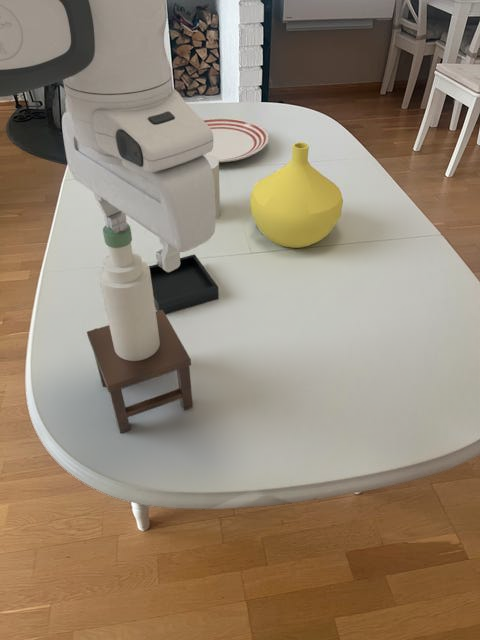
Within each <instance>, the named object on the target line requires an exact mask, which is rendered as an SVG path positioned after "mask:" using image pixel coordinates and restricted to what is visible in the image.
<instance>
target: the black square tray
mask: <svg viewBox="0 0 480 640" xmlns="http://www.w3.org/2000/svg"><path fill="white" fill-rule="evenodd" d="M148 266H149V268H150V274H151V281H152V289H153V296H154V303H155V311H159V310H163V311H164V313H165V315H169V314H171V313H175V312H178V311H182V310H185V309H188V308H192V307H195V306H199V305H202V304H205V303H208V302H211V301H214V300H219V286H218V284H217V283H216V281H215V280H214V279H213V277H212V276H211V274H210V273H209V271H207V269H206V268H205V266H204V265H203V264H202V262H201V261H200V259H199V258H198V257H197V256H196V254H191V255H186V256H183V257H180V266H179V267H178V268H177V269H175V270H173V271H171V272H166V271H165V270H164V269H162V268H161V267H160V266H158V264H157V263H156V264H152V265H148Z"/></svg>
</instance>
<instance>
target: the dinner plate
mask: <svg viewBox="0 0 480 640" xmlns="http://www.w3.org/2000/svg"><path fill="white" fill-rule="evenodd" d="M201 119H202V118H201ZM202 120H203V121H204V122H205V123H206V124H207V125H208V126H209V127H210V128H211V130H212V133H213V149H212V151H211V152H209V153H207V154H208V155H212V156H214V157H216V158H217V159H218V160H219V164H220V163H229V162H235V161H240V160H243V159H247V158H249V157H252V156H254V155H256V154H257V153H259V152H261V151H262V150H263V149H264V148H265V147H266V146H267V145H268V143H269V140H270V139H269V137H270V136H269V134H268V132H267V130H266V129H265V128H264V127H262V126H260V125H259V124H257V123H254V122H251V121H249V120H244V119H239V118H231V117H212V118H211V117H209V118H203V119H202Z"/></svg>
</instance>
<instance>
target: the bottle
mask: <svg viewBox="0 0 480 640" xmlns="http://www.w3.org/2000/svg"><path fill="white" fill-rule="evenodd" d="M102 234H103V238H104V243H105V245H106V246H107V250H108V255H107V256H106V257H105V258H104V259H103V262H102V267H101V268H100V269H99V271H98V274H97V275H98V282H99V284H100V291H101V294H102V299H103V304H104V309H105V313H106V317H107V321H108V325H109V327H110V331H111V336H112V340H113V345H114V349H115V352H116V354H117V355H118V356H119V357H121V358H123V359H125V360H129V361H139V360H143V359H146V358H148V357H150V356H152V355H153V354H154V353H155V352H156V351H157V350H158V348H159V345H160V340H159V333H158V325H157V318H156V311H157V310H156V308H155V303H154V296H153V289H152V281H151V274H150V268H149V266H150V265H148V264H147V263H146V262H145V261H144V260H143V259H142V257H141V255H140V254H138V253H137V252H135V251H133V247H132V241H133V236H132V229H131V225H130V224H129V223H127V228H126V229H125V230H123V231H120V232H119V233H114V232H113V231H112V230H110V229H109V228H107V227H106V225H104V227H103V228H102Z"/></svg>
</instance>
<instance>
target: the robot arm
mask: <svg viewBox="0 0 480 640" xmlns="http://www.w3.org/2000/svg"><path fill="white" fill-rule="evenodd" d="M167 11H168V10H167V0H0V98H3V97H4V98H5V97H12V96H17V95H19V94H23V93H24V94H25V93H27V92H30V91H34V90H37V89H40V88H44V87H47V86H49V85H53V84H55V83H59V82H61V81H62V82H63V88H64V93H65V100H64V102H65V107H66V111H65V112H64V113H63V115H62V117H61V129H62V137H63V144H64V151H65V156H66V162H67V166H68V169H69V172H70V174H71V175H72V177H73V179H74V180H75V181H77V182H79V183H80V184H81V185H83V186H84V187H85V188H87V189H89V190H90V191H91V192H92V193H93V197H94V199H95V201H96V203H97V205H98V207H99V209H100V211H101V213H102V215H103V217H104V222H105V226H106V227H107V228H109V229H110V230H112V231H113V232H114V233H119V232H120V231H123V230H125V229H126V228H127V224H128V223H127V217H129V218H130V219H132V220H133V221H134V222H136V223H137V224H139V225H140V226H142V228H145V229H146V230H147V231H149V232H150V233H152V234H153V235H155V236H156V237H157V238H158V240H159V243H160V245H163V246H162V249H159V250H158V251H156V252H155V257H156V260H157V261H156V264H158V266H160V267H161V268H162V269H164V270H165V271H166V272H171V271H173V270H175V269H177V268H178V267H179V266H180V258H181V254H180V253H186V252H188V251H190V250H193V249H195V248H197V247H199V246H202V245H203V244H206V243H207V242H208V241H209V240H210V239H211V238H212V237H213V236H214V234H215V232H216V227H217V226H216V223H217V219H216V203H215V186H214V177H213V172H212V169H211V166H210V164H209V162H208V160H207V159H206V157H205V156H204V154H207V153H209V152H211V151H212V149H213V133H212V130H211V128H210V127H209V126H208V125H207V124H206V123H205V122H204V121H203V120H202V118H201V116H199V115H198V114H197V113H196V112H195V111H194V110H193V108H191V107H190V105H189V104H188V103H187V102H186V101H185V100H184V99H183V97H182V95H181V94H180V93H179V92H178V91H177V90H176V89H174V88H173V77H172V75H173V74H172V68H171V65H170V64H171V63H170V61H169V59H168V56H167V53H166V48H165V47H166V45H165V31H166V25H167V20H168V12H167Z"/></svg>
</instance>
